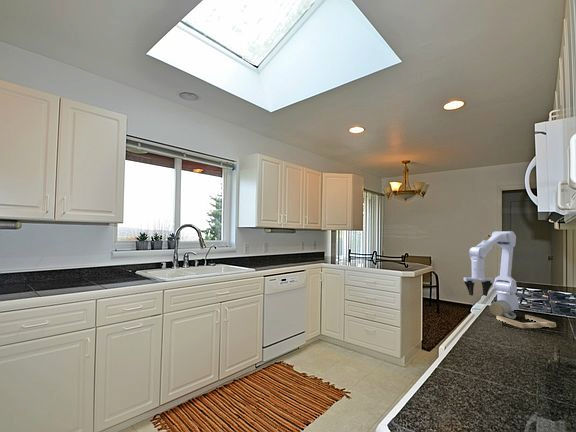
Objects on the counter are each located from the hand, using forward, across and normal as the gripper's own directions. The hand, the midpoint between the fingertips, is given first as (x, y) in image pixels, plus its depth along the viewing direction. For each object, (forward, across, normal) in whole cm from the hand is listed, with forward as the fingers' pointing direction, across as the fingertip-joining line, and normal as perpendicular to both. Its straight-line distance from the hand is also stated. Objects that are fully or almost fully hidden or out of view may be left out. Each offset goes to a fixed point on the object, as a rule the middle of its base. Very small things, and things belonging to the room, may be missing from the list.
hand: (478, 295), depth 159 cm
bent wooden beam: (+10, +11, -17) cm, 22 cm away
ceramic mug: (+10, +10, -5) cm, 15 cm away
